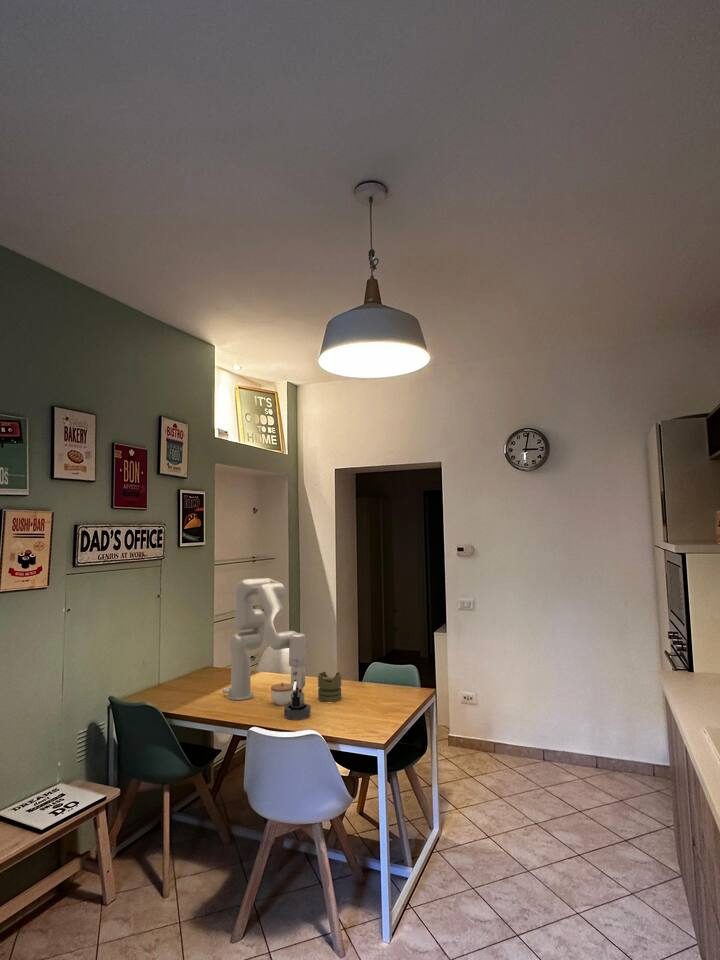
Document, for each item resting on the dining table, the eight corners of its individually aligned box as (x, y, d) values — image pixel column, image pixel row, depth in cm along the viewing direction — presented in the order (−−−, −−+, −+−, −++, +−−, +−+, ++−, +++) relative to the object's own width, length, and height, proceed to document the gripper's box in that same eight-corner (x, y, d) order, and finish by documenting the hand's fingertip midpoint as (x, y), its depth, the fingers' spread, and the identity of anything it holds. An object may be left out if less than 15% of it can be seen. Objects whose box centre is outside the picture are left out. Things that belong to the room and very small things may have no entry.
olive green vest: (320, 671, 275) (342, 671, 274) (320, 696, 274) (342, 696, 273) (316, 676, 264) (339, 677, 263) (316, 702, 263) (339, 703, 262)
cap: (289, 707, 241) (289, 695, 241) (292, 703, 247) (292, 691, 247) (302, 707, 240) (302, 695, 241) (305, 703, 246) (305, 691, 247)
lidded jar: (296, 700, 267) (296, 680, 268) (289, 707, 256) (289, 686, 257) (275, 699, 269) (275, 679, 270) (267, 705, 258) (267, 685, 259)
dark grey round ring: (282, 719, 238) (282, 710, 238) (287, 711, 249) (287, 702, 249) (307, 720, 237) (307, 710, 237) (311, 712, 248) (311, 703, 248)
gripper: (302, 666, 237) (302, 709, 235) (309, 657, 254) (309, 698, 252) (285, 666, 237) (284, 709, 235) (293, 657, 254) (292, 698, 252)
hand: (297, 703), depth 244 cm, fingers closed on cap, 5 cm apart
